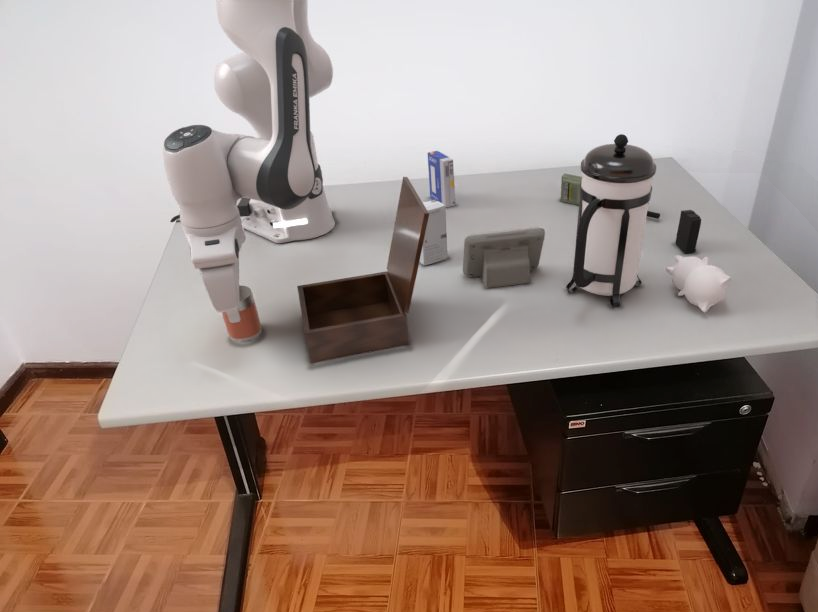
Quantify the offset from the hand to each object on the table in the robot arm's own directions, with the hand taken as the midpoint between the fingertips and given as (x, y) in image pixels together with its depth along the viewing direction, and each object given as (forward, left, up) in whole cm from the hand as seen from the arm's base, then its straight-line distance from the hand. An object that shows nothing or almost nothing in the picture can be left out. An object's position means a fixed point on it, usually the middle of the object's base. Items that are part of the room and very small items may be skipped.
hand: (235, 305), depth 110 cm
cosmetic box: (+15, +40, -7) cm, 43 cm away
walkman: (+2, +67, -7) cm, 67 cm away
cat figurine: (+69, +49, -7) cm, 85 cm away
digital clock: (+32, +40, -7) cm, 52 cm away
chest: (+17, +10, -7) cm, 21 cm away
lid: (+24, +17, +9) cm, 31 cm away
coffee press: (+52, +43, -7) cm, 68 cm away
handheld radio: (+41, +80, -7) cm, 90 cm away
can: (0, 0, -7) cm, 7 cm away
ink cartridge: (+62, +68, -7) cm, 92 cm away
